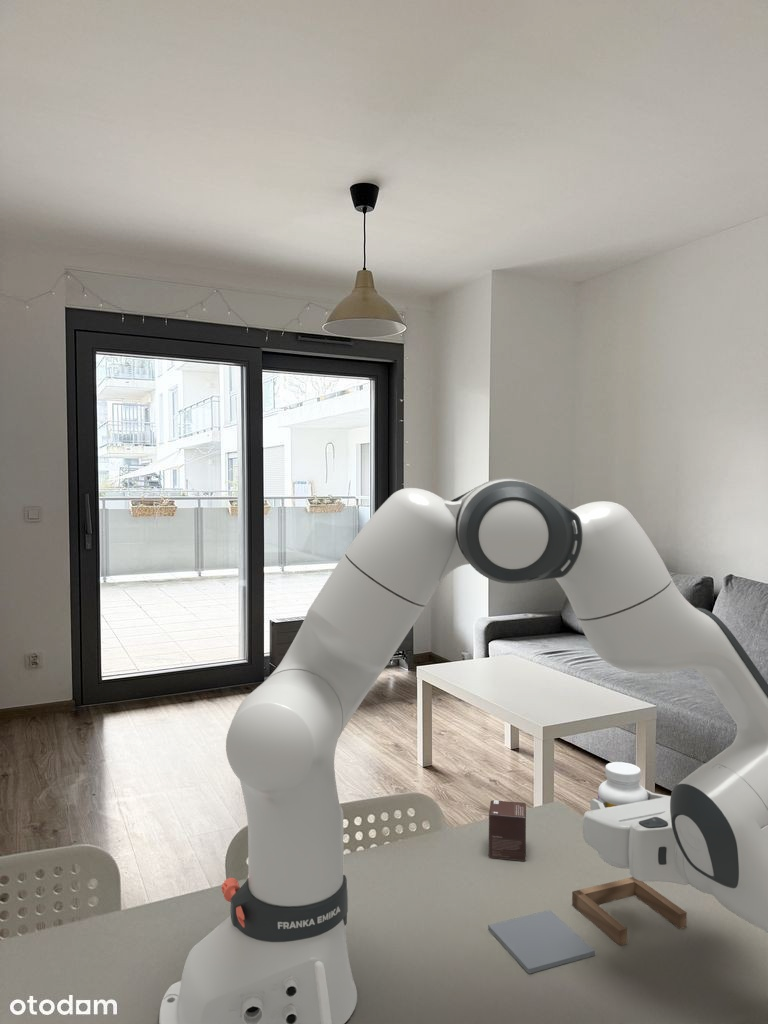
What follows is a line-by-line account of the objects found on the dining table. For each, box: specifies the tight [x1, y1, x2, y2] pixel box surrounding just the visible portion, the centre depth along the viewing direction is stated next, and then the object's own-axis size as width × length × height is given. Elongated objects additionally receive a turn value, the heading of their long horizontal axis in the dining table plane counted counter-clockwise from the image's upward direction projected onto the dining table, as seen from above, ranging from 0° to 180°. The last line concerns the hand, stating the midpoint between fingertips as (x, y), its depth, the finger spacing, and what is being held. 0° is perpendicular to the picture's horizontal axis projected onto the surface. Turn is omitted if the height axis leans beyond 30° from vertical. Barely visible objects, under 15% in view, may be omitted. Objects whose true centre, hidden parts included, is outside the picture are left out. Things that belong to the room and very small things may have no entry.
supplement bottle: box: [597, 761, 648, 870], centre depth 101 cm, size 7×7×13 cm
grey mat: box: [487, 909, 596, 975], centre depth 97 cm, size 10×10×1 cm
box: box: [488, 800, 527, 862], centre depth 121 cm, size 6×6×7 cm
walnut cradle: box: [571, 876, 688, 946], centre depth 103 cm, size 11×10×2 cm
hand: (617, 799), depth 102 cm, fingers closed on supplement bottle, 7 cm apart
